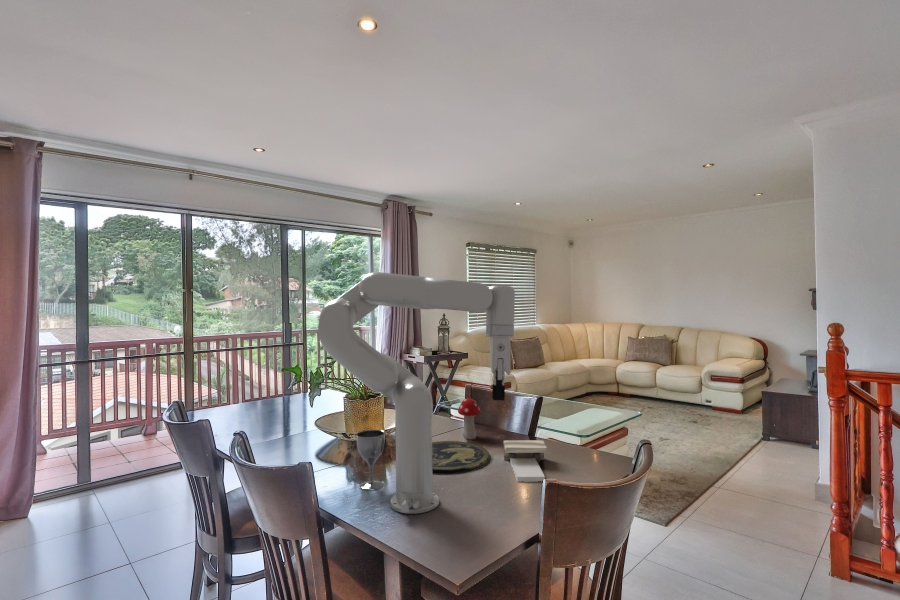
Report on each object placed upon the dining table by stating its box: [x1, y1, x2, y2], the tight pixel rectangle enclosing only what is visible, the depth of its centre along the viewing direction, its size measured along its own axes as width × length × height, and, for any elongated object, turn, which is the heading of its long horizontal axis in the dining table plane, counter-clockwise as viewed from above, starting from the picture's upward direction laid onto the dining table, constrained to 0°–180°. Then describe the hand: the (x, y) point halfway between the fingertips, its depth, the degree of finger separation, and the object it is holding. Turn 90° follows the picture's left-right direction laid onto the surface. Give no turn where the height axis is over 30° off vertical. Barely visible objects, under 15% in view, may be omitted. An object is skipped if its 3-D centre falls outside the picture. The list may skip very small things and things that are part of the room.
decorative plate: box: [432, 440, 491, 475], centre depth 156 cm, size 30×2×30 cm
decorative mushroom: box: [457, 397, 481, 440], centre depth 180 cm, size 10×9×15 cm
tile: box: [509, 458, 546, 483], centre depth 142 cm, size 16×8×2 cm, turn 0°
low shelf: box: [503, 439, 548, 463], centre depth 150 cm, size 8×13×6 cm, turn 87°
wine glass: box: [356, 429, 386, 490], centre depth 133 cm, size 8×8×15 cm
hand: (498, 399), depth 125 cm, fingers closed
